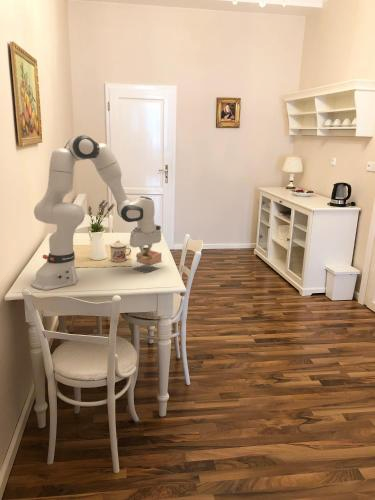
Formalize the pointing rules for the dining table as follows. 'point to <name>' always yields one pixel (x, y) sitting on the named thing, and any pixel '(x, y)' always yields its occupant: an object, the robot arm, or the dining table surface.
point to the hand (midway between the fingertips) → (145, 252)
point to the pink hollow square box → (151, 261)
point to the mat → (145, 268)
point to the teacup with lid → (119, 251)
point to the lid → (145, 254)
